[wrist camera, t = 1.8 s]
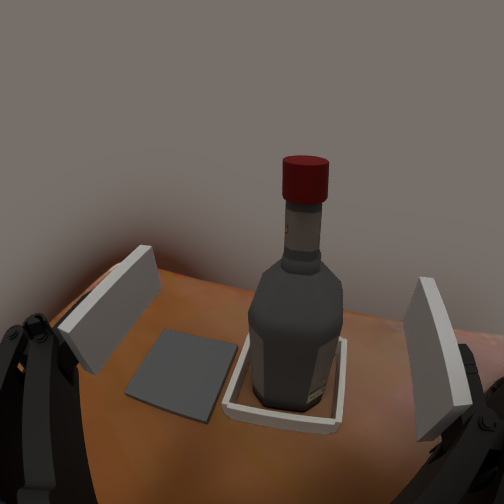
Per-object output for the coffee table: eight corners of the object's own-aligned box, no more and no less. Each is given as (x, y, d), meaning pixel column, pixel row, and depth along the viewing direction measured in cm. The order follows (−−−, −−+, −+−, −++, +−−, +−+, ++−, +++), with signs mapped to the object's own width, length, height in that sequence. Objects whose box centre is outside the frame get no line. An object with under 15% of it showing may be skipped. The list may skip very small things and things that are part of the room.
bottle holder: (342, 351, 41) (346, 337, 39) (335, 435, 28) (341, 425, 27) (252, 339, 44) (251, 325, 42) (223, 417, 32) (220, 405, 30)
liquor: (249, 405, 33) (231, 172, 18) (264, 355, 41) (260, 148, 26) (317, 415, 31) (372, 181, 16) (323, 363, 39) (357, 154, 24)
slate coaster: (238, 348, 42) (237, 344, 42) (207, 424, 31) (206, 421, 30) (166, 332, 46) (164, 328, 45) (126, 395, 34) (123, 391, 33)
